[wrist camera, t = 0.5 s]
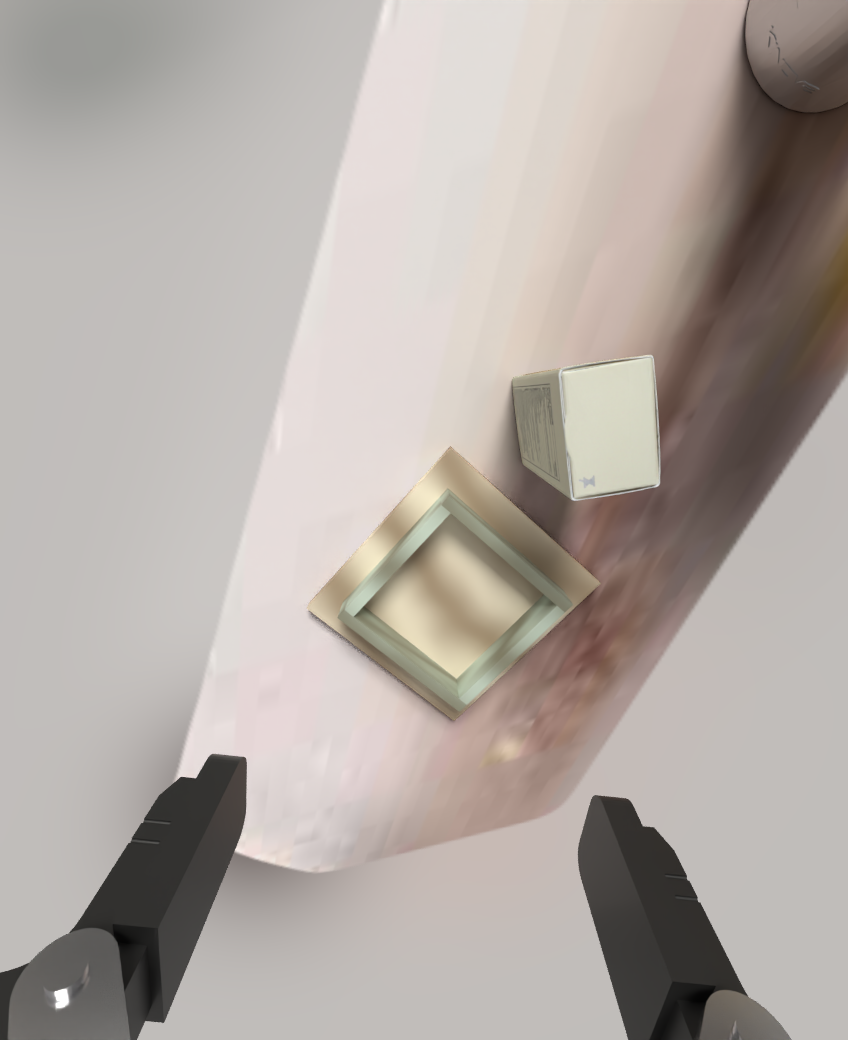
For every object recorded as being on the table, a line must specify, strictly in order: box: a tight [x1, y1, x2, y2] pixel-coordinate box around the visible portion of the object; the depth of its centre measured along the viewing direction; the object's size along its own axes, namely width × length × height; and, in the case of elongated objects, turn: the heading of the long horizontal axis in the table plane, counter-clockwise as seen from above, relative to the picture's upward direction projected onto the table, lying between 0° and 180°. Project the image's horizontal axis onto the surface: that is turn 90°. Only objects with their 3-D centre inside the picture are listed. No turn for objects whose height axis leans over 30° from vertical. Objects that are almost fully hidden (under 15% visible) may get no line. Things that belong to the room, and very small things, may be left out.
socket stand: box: [307, 446, 601, 721], centre depth 36 cm, size 16×15×4 cm
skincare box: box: [512, 355, 660, 501], centre depth 28 cm, size 6×4×12 cm
